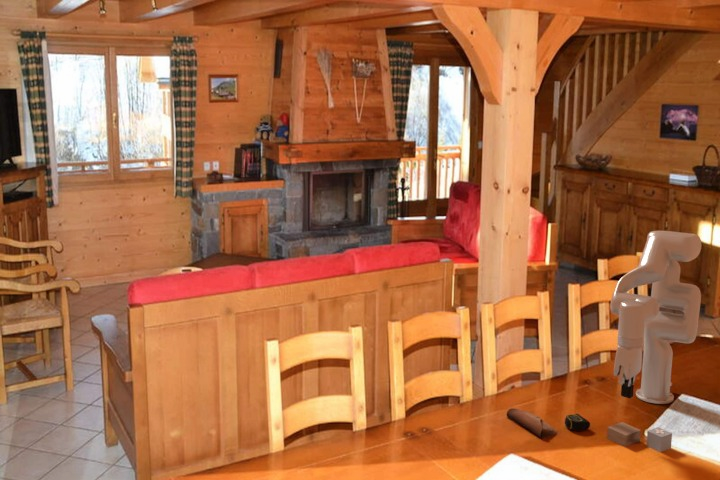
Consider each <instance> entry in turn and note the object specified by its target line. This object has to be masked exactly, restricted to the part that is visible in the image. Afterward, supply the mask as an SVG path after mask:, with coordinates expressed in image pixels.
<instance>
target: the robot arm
mask: <svg viewBox="0 0 720 480" xmlns="http://www.w3.org/2000/svg"><path fill="white" fill-rule="evenodd" d="M701 250H702V240H701V238H700V236H699V235H697V234H696V233H690V232H689V233H688V232H681V231H680V232H679V231H670V230H652V231H649V233H647V237H646V242H645V245H644V247H643V250H642V254H641V256H640V259H639V261H638V262H639V263H638V264H637V265H638V266H637V267H635V268H634V269H631V270H629V271H628V272H627V273H626V274H624V275H623V276H622V277H621V278H619V280H618V281H617V282H616V285H615V286H614V289H613V293H612V295H611V299H610V305H609V306H610V312H611V313H612V314H614V315H615V316H618V326H617V327H618V329H617V343H616V344H617V346H616V347H617V348H616V352H615V358H614V366H613V376H614V377H616V378H617V377H618V376H619V377H618V381H617V382H618V383H619V384H620V385H621V389H620V396H621V397H623V398H626V399H627V398H628V399H632V398H633V397H634V388H635V381H636V376H637V375H638V374H639V373H641V380H640V381H641V382H640V388H637V389H636V391H635V396H636V397H637V398H638V399H639V400H641V401H644V402H646V403H650V404H655V405H666V404H670V403H672V402H673V401H674V400H675V395H674V394H673V393H672V392H671V390H670V389H671V386H672V385H673V382H672V381H671V379H672V377H671V376H672V365H673V355H674V353H673V349H672V346H671V345H670V343H669V341H670V342H676V343H682V344H692V343H693V342H694V341H695V340H696V338H697V333H698V327H699V319H700V311H701V309H700V308H701V303H702V302H701V299H702V293H701V290H700V288H699V287H698V286H697V285H695V284H692V283H684V282H681V281H680V276H681V272H682V271H681V269H682V268H681V266H680V263H679V262H683V263H684V262H685V263H687V262H691V261H693V260H695V259H696V258H698V256H699V255H700V253H701ZM651 284H652V285H651ZM646 285H651V294H650V296H649V295H642V294H635V293H631V292H629V291H630V290H632V289H635V288H637V287H641V286H646ZM660 308H663V309H669V310H675V311H681V312H683V314H679V313H673V312H668V311H662V310H660Z"/></svg>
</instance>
